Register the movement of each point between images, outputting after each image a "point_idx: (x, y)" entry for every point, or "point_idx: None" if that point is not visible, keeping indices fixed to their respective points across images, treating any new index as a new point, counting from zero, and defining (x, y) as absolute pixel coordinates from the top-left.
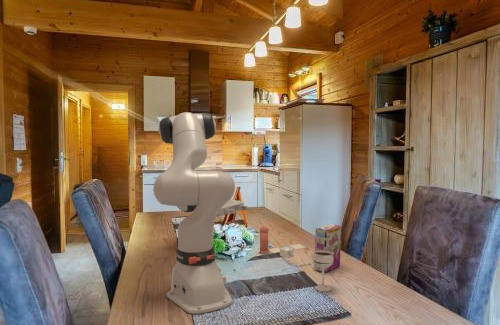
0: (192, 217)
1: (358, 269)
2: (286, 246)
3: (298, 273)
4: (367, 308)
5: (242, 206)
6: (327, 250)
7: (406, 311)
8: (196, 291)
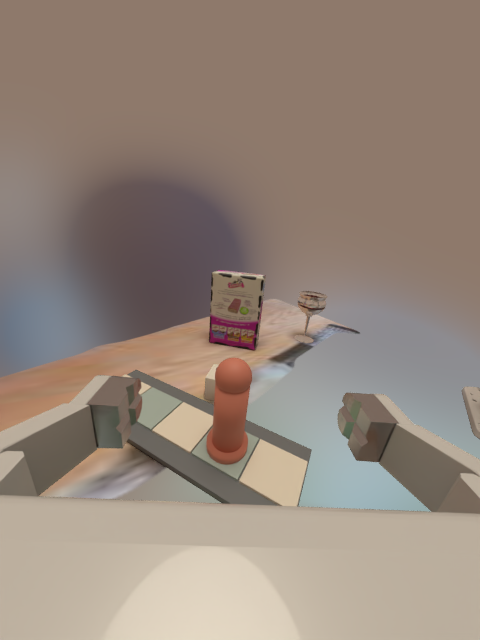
0: None
1: None
2: None
3: (285, 361)
4: None
5: (45, 444)
6: (300, 293)
7: (289, 308)
8: None
